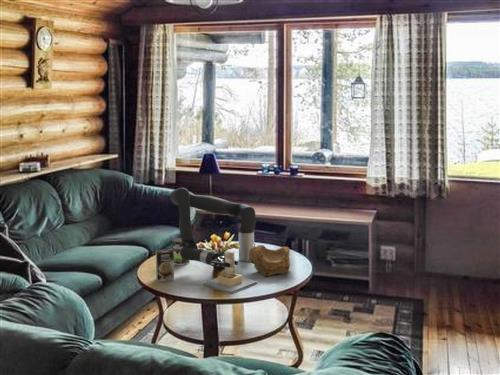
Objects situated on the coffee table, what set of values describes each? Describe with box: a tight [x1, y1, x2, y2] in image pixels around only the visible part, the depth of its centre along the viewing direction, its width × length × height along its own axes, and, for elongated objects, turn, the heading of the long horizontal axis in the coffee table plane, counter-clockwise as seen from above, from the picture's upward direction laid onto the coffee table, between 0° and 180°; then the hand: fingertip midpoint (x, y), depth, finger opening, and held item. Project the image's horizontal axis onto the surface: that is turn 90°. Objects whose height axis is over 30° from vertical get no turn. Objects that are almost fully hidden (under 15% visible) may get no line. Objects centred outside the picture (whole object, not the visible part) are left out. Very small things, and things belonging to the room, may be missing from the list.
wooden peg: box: [224, 250, 236, 279], centre depth 293 cm, size 5×5×14 cm
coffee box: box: [155, 248, 175, 283], centre depth 301 cm, size 9×6×16 cm
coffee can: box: [171, 236, 191, 266], centre depth 331 cm, size 10×10×14 cm
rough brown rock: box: [249, 244, 291, 278], centre depth 310 cm, size 23×17×15 cm
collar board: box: [202, 273, 258, 295], centre depth 294 cm, size 20×20×5 cm
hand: (233, 264), depth 291 cm, fingers closed on wooden peg, 5 cm apart
